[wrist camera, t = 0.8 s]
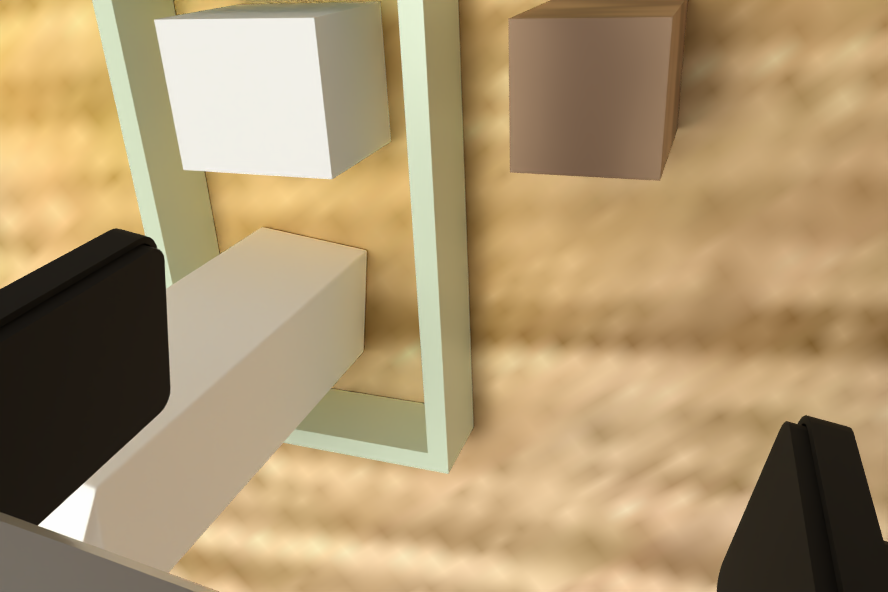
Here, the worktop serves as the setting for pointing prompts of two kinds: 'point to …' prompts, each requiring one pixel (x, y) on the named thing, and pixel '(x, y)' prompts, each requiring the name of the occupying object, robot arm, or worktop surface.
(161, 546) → the milk
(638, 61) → the walnut block
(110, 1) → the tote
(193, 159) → the white block
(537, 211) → the worktop surface
